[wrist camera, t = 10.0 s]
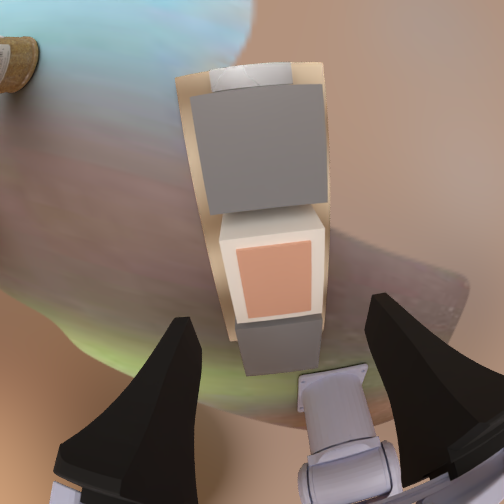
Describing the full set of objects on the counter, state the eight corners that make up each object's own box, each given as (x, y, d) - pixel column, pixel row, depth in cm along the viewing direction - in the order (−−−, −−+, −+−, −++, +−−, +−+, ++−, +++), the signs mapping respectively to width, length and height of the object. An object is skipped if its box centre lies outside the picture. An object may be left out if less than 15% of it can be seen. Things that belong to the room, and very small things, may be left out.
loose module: (304, 260, 18) (322, 315, 14) (238, 269, 18) (237, 326, 14) (302, 189, 16) (325, 230, 11) (225, 198, 16) (218, 243, 11)
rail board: (321, 322, 23) (336, 375, 18) (230, 332, 24) (228, 387, 19) (317, 64, 13) (354, 50, 8) (178, 79, 13) (146, 70, 8)
